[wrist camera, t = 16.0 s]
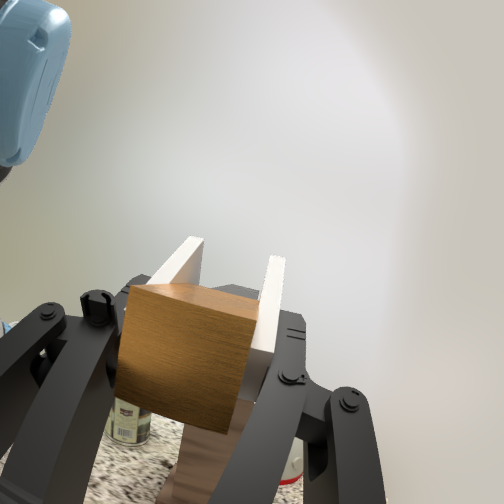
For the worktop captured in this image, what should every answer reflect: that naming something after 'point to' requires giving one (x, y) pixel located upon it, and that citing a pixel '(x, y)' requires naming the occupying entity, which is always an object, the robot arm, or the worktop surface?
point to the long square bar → (186, 351)
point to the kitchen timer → (293, 463)
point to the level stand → (203, 460)
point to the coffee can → (128, 424)
